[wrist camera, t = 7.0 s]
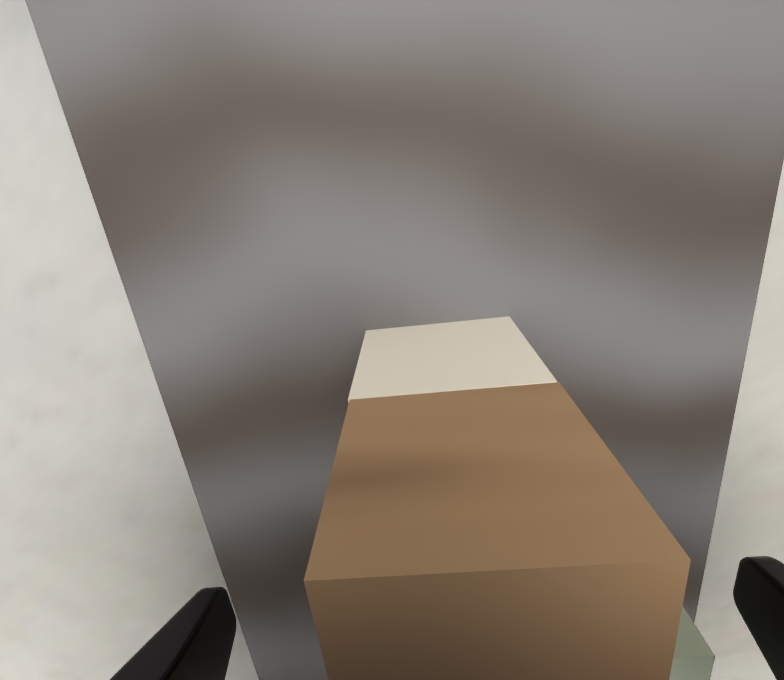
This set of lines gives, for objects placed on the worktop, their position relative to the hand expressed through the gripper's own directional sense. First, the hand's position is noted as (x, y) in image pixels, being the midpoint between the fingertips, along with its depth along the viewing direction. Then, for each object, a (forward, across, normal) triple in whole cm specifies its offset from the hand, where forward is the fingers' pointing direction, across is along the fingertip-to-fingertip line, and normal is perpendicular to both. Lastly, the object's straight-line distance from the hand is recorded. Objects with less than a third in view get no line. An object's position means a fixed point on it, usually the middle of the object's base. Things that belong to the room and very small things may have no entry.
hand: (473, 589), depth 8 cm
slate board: (+7, 0, 0) cm, 7 cm away
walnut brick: (+2, 0, 0) cm, 2 cm away
